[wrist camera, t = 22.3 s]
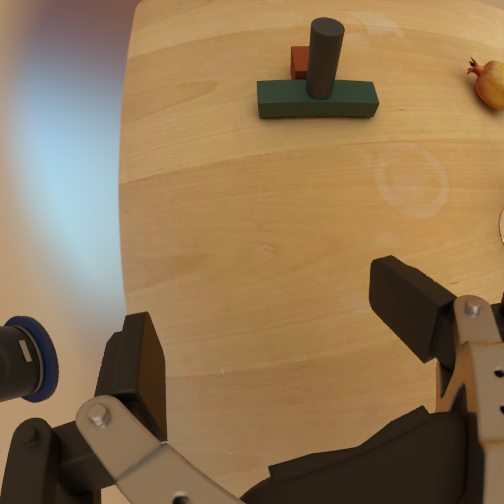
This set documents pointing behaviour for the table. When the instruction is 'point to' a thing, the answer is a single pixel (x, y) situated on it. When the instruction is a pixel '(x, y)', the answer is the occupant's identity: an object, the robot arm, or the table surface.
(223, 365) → the table surface
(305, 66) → the rust-brown cube
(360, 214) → the table surface
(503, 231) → the wineglass
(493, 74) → the fruit
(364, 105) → the wiper
